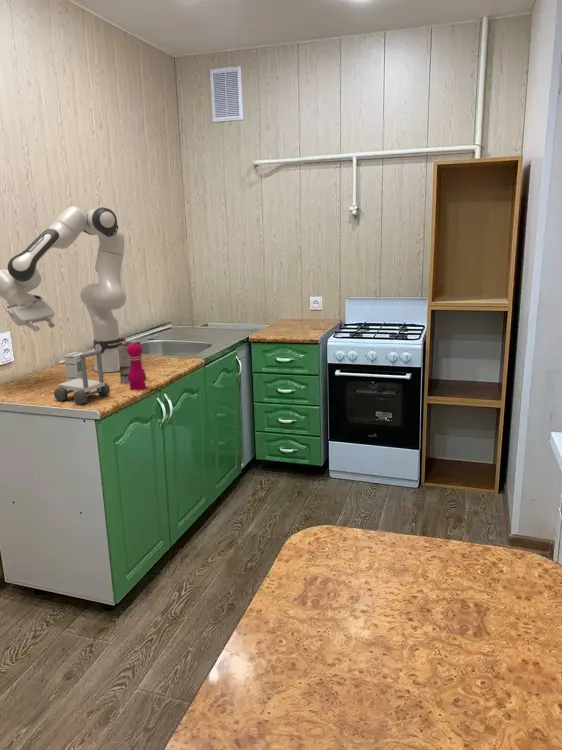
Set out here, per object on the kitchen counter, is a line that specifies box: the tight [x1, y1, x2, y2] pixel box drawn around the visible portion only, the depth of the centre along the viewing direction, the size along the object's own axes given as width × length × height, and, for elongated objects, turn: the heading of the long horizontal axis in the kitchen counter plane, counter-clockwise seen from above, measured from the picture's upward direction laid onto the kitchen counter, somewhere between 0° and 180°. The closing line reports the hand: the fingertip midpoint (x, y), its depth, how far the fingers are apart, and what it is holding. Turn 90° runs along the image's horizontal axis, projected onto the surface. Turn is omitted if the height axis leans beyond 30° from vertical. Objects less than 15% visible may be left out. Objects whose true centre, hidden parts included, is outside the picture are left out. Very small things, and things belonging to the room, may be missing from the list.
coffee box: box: [118, 341, 143, 384], centre depth 247 cm, size 9×6×16 cm
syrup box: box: [63, 351, 85, 382], centre depth 238 cm, size 6×6×14 cm
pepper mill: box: [127, 339, 147, 391], centre depth 235 cm, size 7×7×20 cm
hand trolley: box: [53, 350, 111, 406], centre depth 223 cm, size 14×15×19 cm
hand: (45, 328), depth 237 cm, fingers open, 8 cm apart
